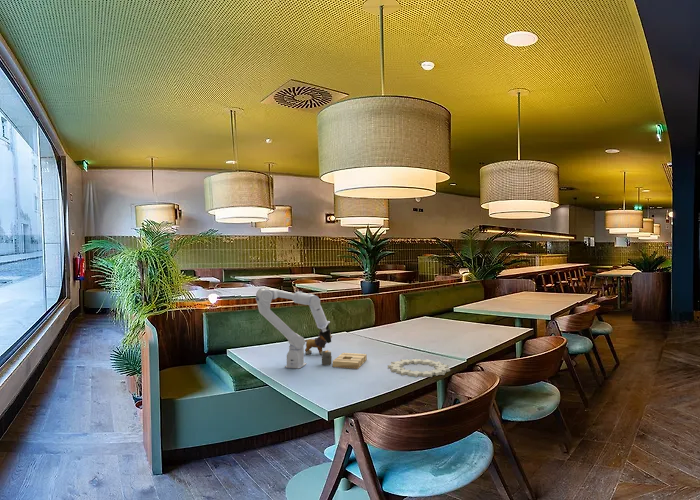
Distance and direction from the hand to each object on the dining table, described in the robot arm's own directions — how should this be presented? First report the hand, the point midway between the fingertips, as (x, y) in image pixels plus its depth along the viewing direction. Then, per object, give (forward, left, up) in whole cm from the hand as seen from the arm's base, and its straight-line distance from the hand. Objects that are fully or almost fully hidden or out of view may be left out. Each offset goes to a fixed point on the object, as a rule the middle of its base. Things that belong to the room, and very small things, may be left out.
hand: (328, 340), depth 231 cm
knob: (-5, 0, -11) cm, 12 cm away
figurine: (+15, +14, -12) cm, 23 cm away
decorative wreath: (-1, -46, -12) cm, 48 cm away
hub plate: (0, -11, -11) cm, 16 cm away
